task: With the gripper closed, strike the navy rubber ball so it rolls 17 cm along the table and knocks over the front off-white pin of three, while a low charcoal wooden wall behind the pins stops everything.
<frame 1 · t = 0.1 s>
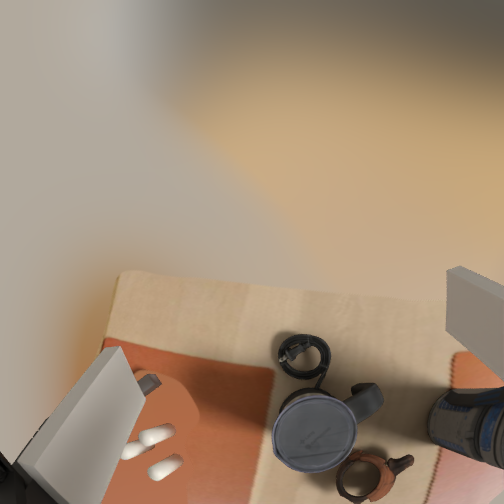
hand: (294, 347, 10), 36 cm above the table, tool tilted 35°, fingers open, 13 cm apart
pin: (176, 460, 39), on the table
back wall: (132, 398, 44), on the table
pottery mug: (370, 469, 34), on the table
beverage bottle: (446, 414, 36), on the table
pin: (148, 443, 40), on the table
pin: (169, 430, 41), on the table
milk frother: (305, 391, 41), on the table
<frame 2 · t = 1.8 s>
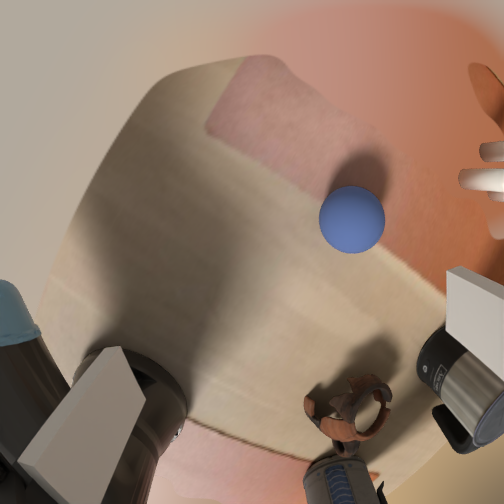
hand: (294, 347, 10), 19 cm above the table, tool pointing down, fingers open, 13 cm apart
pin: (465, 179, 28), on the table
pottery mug: (341, 400, 34), on the table
beverage bottle: (338, 466, 37), on the table
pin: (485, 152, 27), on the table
ball: (352, 219, 26), on the table
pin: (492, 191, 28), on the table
milk frother: (460, 354, 33), on the table
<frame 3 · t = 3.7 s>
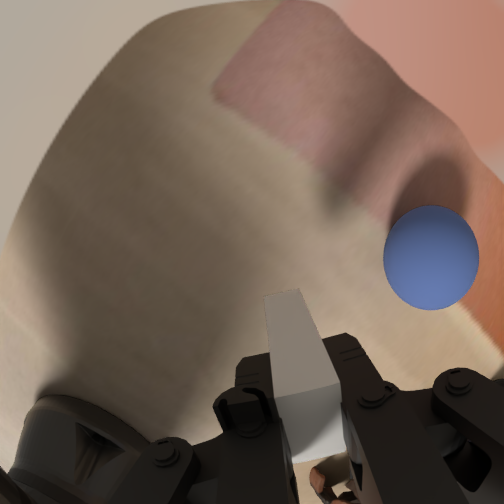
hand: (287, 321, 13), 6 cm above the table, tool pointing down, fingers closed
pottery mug: (355, 468, 23), on the table
ball: (431, 257, 15), on the table
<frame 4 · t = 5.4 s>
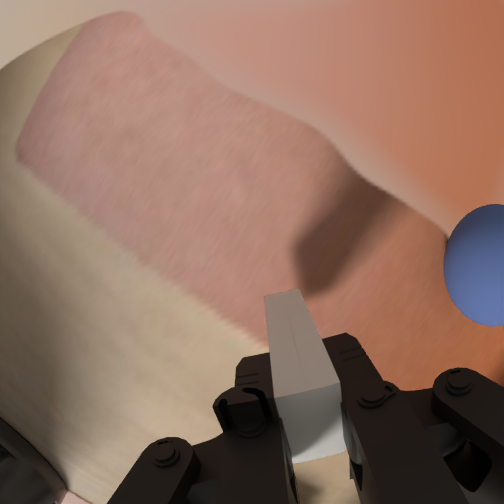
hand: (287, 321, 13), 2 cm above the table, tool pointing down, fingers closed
ball: (495, 265, 11), on the table
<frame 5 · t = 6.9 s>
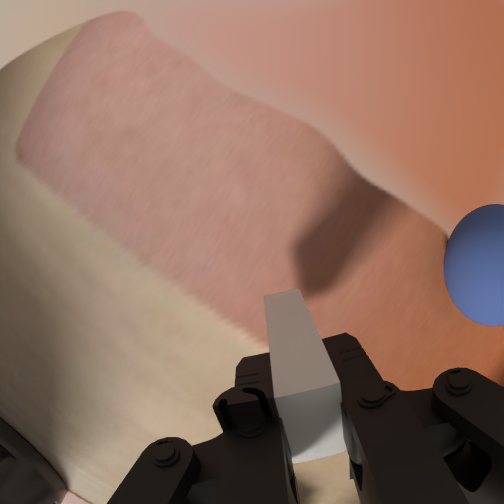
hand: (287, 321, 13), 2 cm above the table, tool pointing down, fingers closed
ball: (495, 265, 11), on the table
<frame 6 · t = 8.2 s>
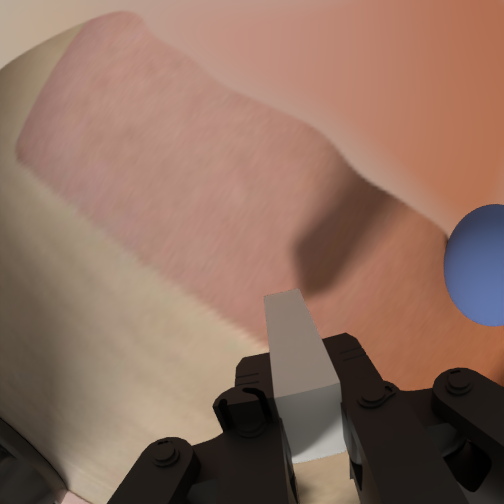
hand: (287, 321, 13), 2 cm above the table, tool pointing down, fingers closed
ball: (495, 265, 11), on the table
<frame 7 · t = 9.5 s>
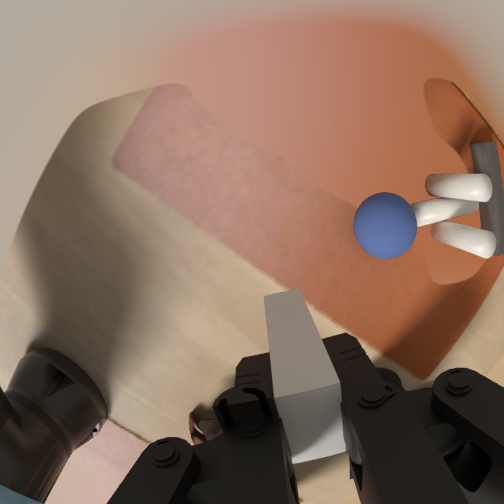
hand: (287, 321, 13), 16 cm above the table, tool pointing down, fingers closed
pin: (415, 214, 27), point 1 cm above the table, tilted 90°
back wall: (483, 197, 27), on the table
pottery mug: (228, 423, 34), on the table
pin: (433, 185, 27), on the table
ball: (385, 225, 25), on the table
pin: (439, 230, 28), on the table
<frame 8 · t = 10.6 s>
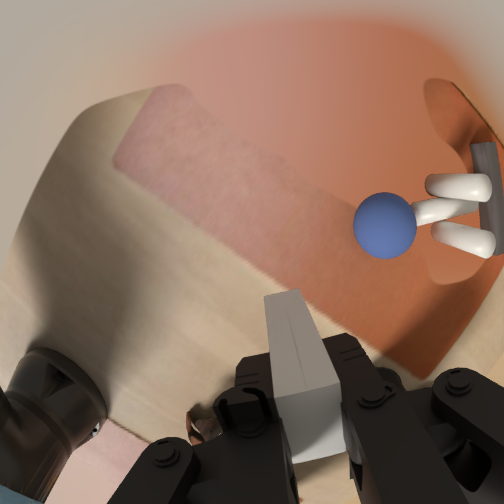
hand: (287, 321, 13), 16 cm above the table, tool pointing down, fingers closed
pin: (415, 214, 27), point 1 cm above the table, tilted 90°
back wall: (483, 197, 27), on the table
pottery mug: (226, 422, 34), on the table
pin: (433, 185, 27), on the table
ball: (385, 225, 25), on the table
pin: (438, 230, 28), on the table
milk frother: (391, 398, 33), on the table
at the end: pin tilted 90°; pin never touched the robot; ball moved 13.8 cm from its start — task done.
